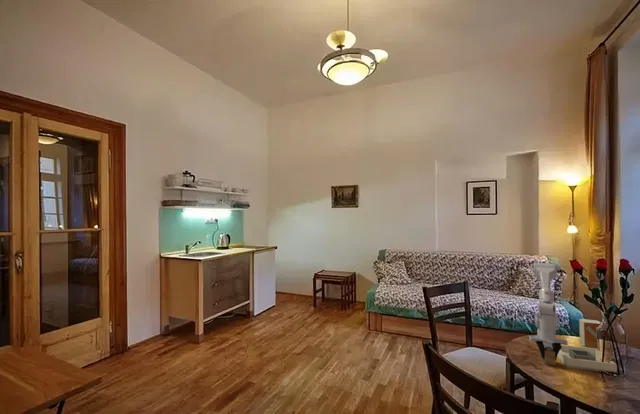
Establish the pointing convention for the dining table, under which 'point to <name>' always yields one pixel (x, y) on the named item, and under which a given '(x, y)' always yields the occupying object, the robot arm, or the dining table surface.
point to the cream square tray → (584, 359)
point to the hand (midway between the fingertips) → (548, 358)
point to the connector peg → (549, 356)
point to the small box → (588, 332)
